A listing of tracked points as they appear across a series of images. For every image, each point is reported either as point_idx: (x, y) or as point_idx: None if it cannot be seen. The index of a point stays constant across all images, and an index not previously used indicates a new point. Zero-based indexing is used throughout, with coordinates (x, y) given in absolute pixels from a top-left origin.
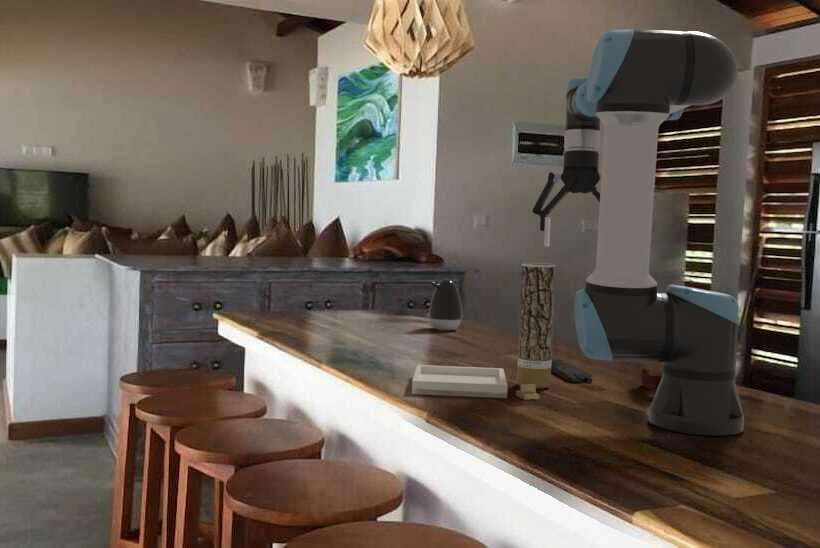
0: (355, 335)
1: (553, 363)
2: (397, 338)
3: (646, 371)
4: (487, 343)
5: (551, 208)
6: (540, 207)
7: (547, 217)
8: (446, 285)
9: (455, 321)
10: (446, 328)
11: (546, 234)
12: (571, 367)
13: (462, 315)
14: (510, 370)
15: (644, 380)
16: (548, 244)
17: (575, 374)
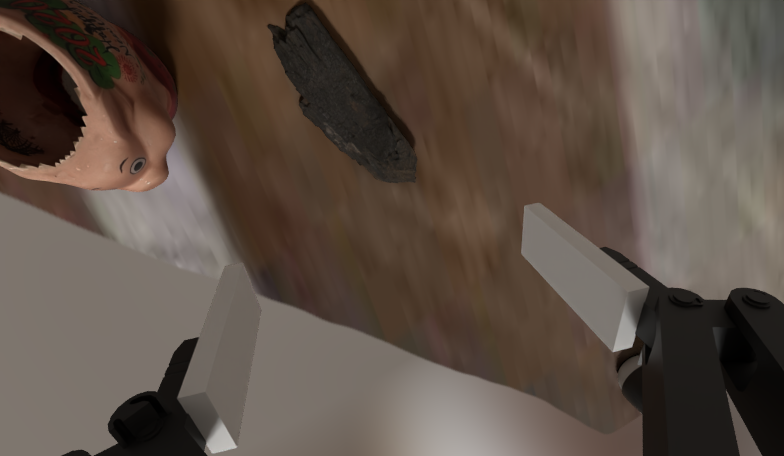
0: (759, 230)
1: (384, 121)
2: (693, 250)
3: (139, 56)
4: (553, 304)
5: (660, 349)
6: (737, 374)
7: (631, 289)
8: None
9: (627, 373)
10: (631, 358)
11: (563, 232)
12: (344, 116)
13: (624, 395)
14: (456, 73)
15: (149, 50)
16: (527, 235)
17: (311, 50)
